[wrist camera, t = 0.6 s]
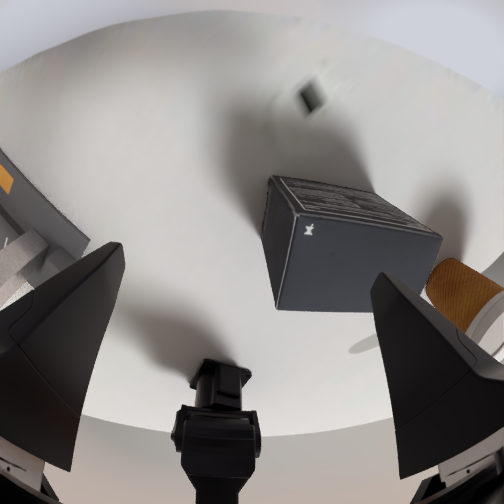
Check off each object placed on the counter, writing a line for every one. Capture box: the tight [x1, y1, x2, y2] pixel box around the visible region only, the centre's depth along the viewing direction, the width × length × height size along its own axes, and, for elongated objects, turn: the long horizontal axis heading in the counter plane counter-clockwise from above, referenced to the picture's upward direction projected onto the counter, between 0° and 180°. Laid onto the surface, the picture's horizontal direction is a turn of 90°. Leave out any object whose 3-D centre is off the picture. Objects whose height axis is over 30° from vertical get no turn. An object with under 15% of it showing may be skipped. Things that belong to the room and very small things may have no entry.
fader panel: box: [0, 149, 90, 288], centre depth 21 cm, size 20×12×3 cm, turn 46°
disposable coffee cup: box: [426, 258, 504, 358], centre depth 23 cm, size 10×10×12 cm
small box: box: [261, 175, 443, 313], centre depth 20 cm, size 11×6×10 cm, turn 83°
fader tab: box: [0, 228, 49, 308], centre depth 19 cm, size 3×4×10 cm
